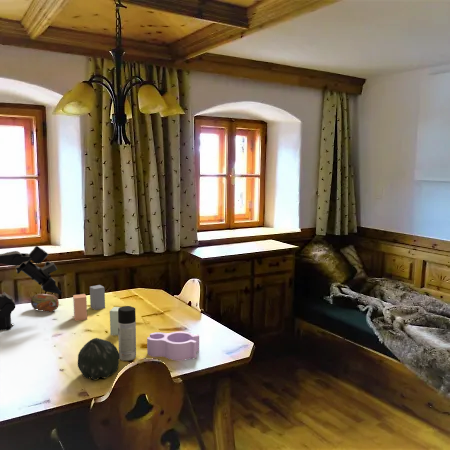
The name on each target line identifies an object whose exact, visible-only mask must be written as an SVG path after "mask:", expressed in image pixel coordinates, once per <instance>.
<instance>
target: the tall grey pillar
mask: <svg viewBox="0 0 450 450" xmlns="http://www.w3.org/2000/svg"><path fill="white" fill-rule="evenodd" d="M105 293H106V291H105V287H104V286H103V285H101V284H97V285H92V286H89V303H90V304H89V306H90V308H91V309H92V310H94V311H97V310H101V309H106V294H105Z"/></svg>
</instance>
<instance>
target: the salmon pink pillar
mask: <svg viewBox="0 0 450 450" xmlns="http://www.w3.org/2000/svg"><path fill="white" fill-rule="evenodd" d="M72 300H73V301H72V303H73V304H72V305H73V318H74V321H75V322H76V321H77V322H78V321H83V320H85V321H86V320H88V309H87V308H88V305H87V303H88V302H87V301H88V300H87V295H86V294H85V293H81V294H74V295H73V294H72Z"/></svg>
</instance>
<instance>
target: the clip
mask: <svg viewBox="0 0 450 450" xmlns="http://www.w3.org/2000/svg"><path fill="white" fill-rule="evenodd" d="M146 343H147V345H146V347H147V349H146V350H147V351H146V352H147V355H148V356H149V357H153V358H160V357H162V358H166V359H167V358H168V359H167V360H170V359H172V360H171V361H185V359H187V360H189V358H190V359H193V358H196V359H197V353H198V352H197V351H199V352H200V334H193V333H191V332H187V331H172V332H169V333H167V332H160V331H159V332H156V331H155V332H152V333H149V336H147V338H146Z"/></svg>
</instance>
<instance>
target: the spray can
mask: <svg viewBox="0 0 450 450" xmlns="http://www.w3.org/2000/svg"><path fill="white" fill-rule="evenodd" d="M119 307H120V308H119V309H118V335H117V336H118V352H119V357H120V358H119V361H123V362H130V361H132V360H134V359H136V357H137V327H136V326H137V320H136V319H137V318H136V317H137V316H136V307H134V306H131V305H125V306H119Z"/></svg>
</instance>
